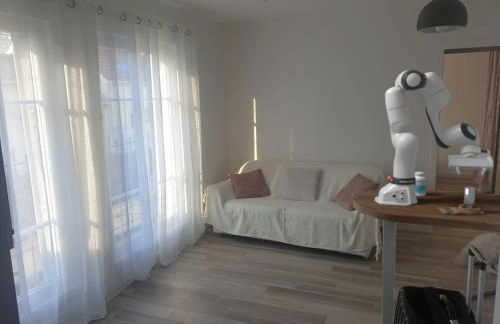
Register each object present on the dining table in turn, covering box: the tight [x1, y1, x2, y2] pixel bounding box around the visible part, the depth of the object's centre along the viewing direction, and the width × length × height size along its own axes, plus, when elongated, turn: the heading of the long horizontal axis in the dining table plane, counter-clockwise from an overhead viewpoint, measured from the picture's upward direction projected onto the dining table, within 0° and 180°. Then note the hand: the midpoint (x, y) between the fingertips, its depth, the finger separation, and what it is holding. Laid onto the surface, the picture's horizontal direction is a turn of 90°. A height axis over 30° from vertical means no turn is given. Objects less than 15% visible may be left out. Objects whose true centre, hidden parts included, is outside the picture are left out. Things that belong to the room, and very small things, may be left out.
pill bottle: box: [415, 171, 427, 197], centre depth 217 cm, size 8×7×14 cm
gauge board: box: [437, 203, 485, 216], centre depth 183 cm, size 18×10×2 cm, turn 81°
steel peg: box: [463, 186, 476, 209], centre depth 182 cm, size 4×4×11 cm
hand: (470, 175), depth 187 cm, fingers open, 8 cm apart
